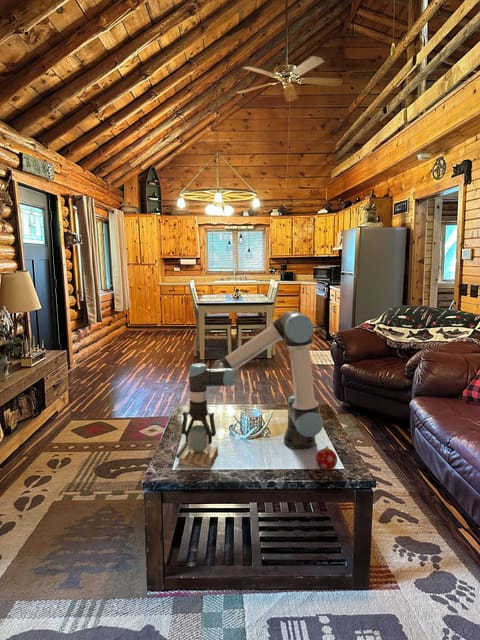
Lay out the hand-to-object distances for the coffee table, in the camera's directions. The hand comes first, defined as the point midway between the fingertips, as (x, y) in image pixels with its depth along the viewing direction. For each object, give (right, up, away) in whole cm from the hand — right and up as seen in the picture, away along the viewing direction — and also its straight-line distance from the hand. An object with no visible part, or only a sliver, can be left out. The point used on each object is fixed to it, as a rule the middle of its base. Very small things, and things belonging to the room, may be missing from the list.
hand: (198, 449), depth 180 cm
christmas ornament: (+54, -6, -8) cm, 55 cm away
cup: (0, 0, 0) cm, 0 cm away
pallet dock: (0, -4, 0) cm, 4 cm away
